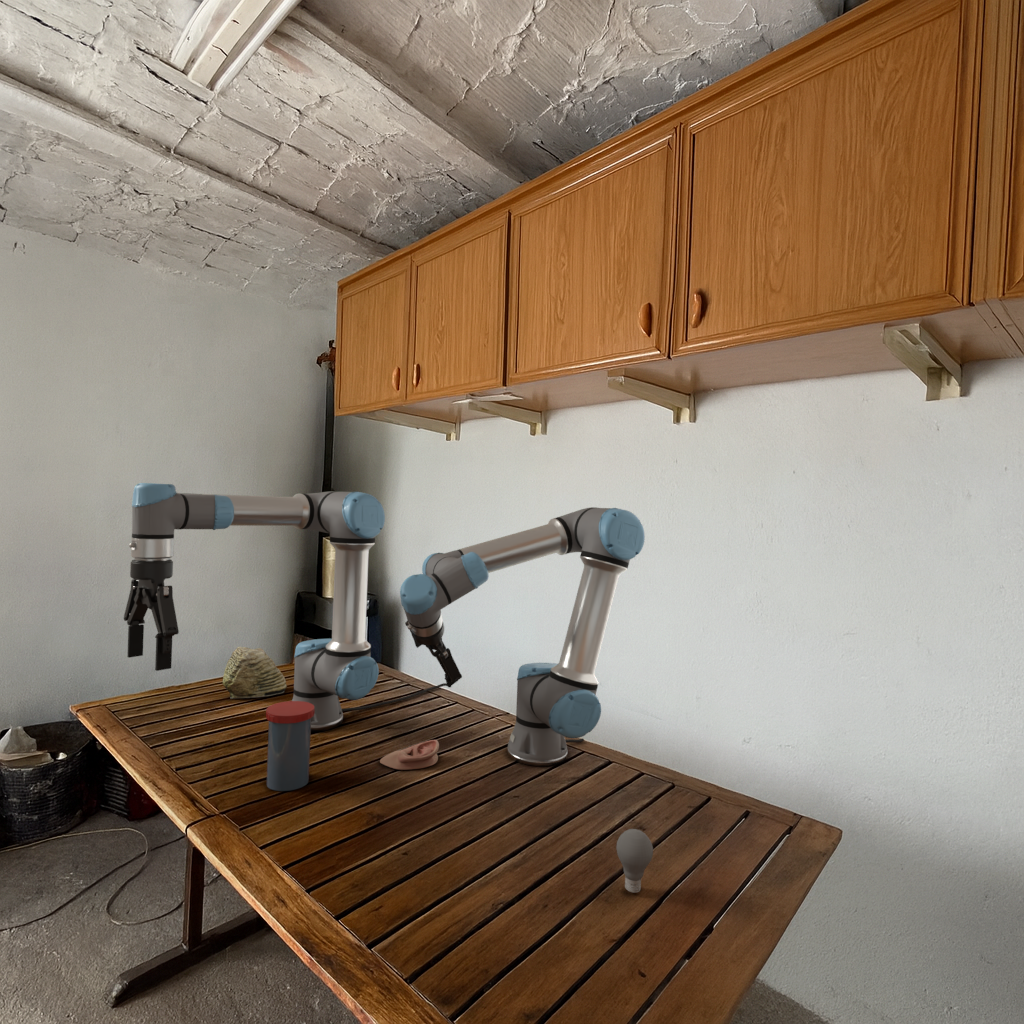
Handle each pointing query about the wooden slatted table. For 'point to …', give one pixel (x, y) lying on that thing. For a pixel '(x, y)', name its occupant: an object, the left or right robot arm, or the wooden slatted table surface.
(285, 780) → the jar
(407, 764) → the anatomical model
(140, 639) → the left robot arm
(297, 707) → the lid
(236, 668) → the fossil
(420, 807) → the wooden slatted table surface
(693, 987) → the wooden slatted table surface
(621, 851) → the light bulb
